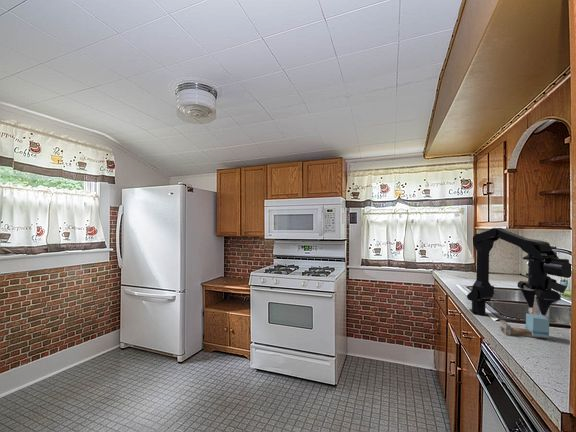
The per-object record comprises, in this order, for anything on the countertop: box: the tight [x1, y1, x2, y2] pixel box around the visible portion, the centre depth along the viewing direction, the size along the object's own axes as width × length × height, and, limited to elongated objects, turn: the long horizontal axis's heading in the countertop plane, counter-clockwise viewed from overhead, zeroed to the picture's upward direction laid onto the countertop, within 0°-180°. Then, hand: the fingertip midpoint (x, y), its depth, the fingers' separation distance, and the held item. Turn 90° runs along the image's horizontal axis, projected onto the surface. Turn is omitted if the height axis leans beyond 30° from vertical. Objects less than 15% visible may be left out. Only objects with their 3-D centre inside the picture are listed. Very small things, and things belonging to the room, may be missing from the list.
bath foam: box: [528, 295, 550, 320], centre depth 125 cm, size 7×7×20 cm
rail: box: [499, 319, 548, 340], centre depth 111 cm, size 14×6×4 cm, turn 72°
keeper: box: [525, 313, 550, 339], centre depth 110 cm, size 5×6×7 cm
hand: (536, 311), depth 110 cm, fingers open, 9 cm apart
